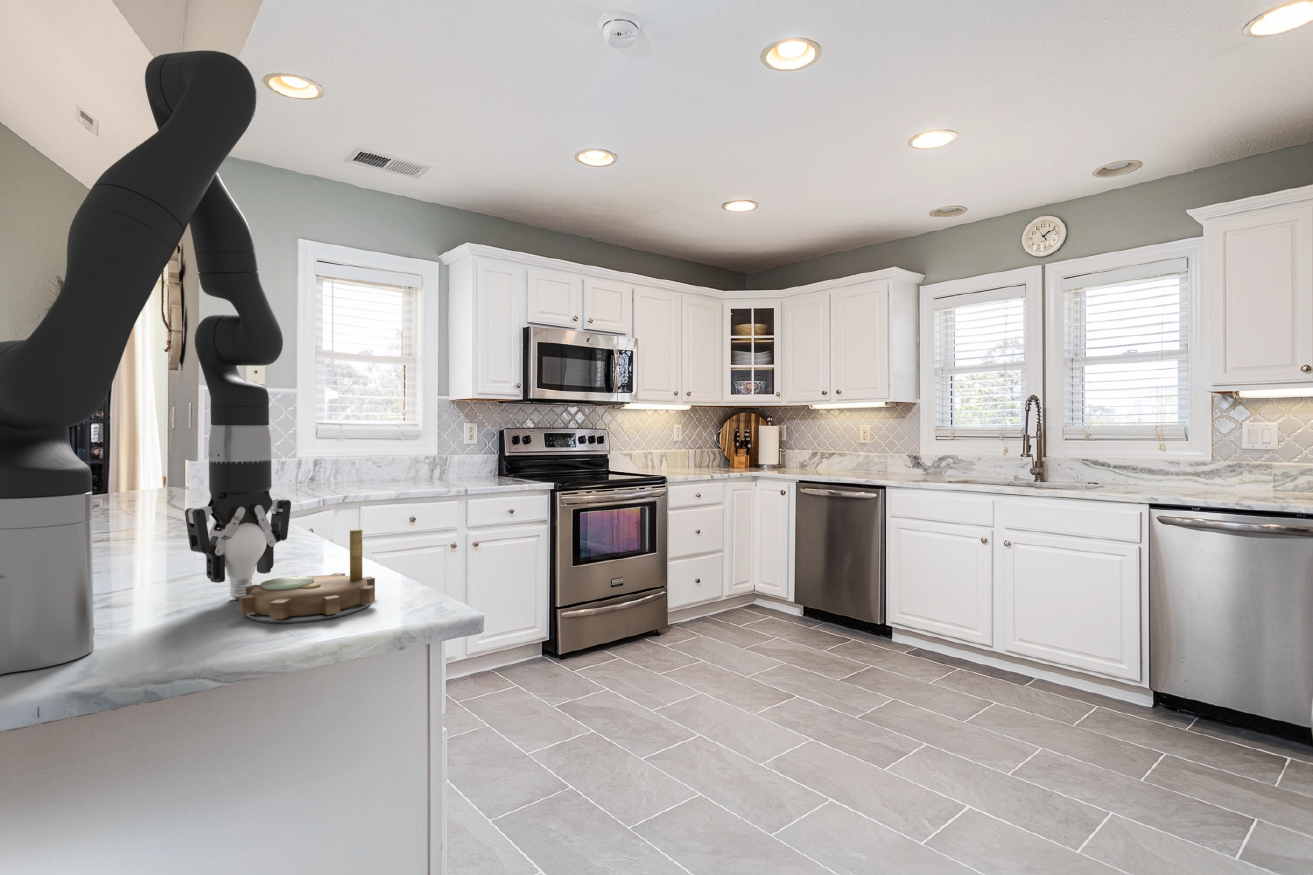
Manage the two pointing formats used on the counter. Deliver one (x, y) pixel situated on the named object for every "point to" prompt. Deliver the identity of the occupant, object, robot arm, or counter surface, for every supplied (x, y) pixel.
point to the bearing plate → (306, 616)
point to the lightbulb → (243, 556)
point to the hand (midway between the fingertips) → (241, 576)
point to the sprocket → (312, 590)
